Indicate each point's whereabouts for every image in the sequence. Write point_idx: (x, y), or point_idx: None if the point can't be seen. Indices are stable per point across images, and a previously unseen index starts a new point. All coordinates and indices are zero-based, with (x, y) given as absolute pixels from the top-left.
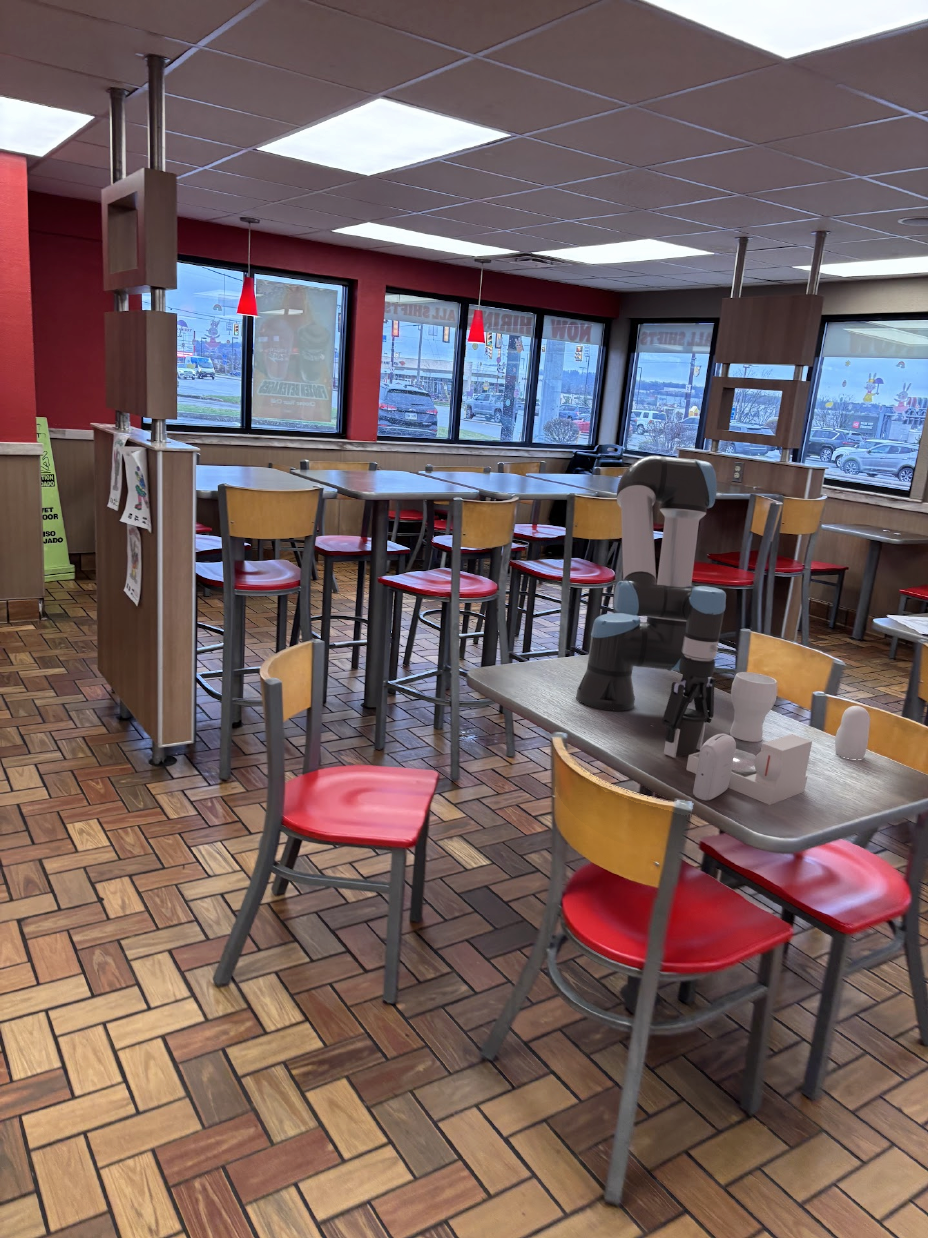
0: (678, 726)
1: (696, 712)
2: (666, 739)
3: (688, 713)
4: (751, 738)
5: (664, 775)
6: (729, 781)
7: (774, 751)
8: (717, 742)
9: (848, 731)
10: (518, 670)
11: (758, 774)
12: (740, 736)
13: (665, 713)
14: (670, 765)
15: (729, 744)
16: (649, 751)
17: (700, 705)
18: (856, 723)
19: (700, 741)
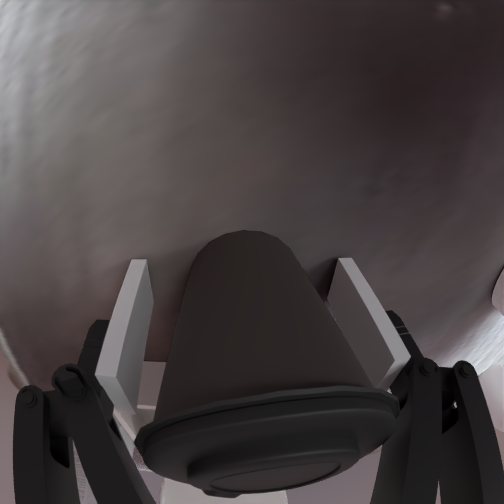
0: (117, 428)
1: (307, 480)
2: (91, 331)
3: (229, 487)
4: (496, 307)
5: (30, 344)
6: (133, 441)
7: None
8: None
9: (492, 413)
10: None
11: (162, 482)
12: (501, 288)
13: (16, 457)
14: (85, 323)
15: None
16: (95, 203)
17: (383, 488)
18: (497, 426)
19: (339, 323)
